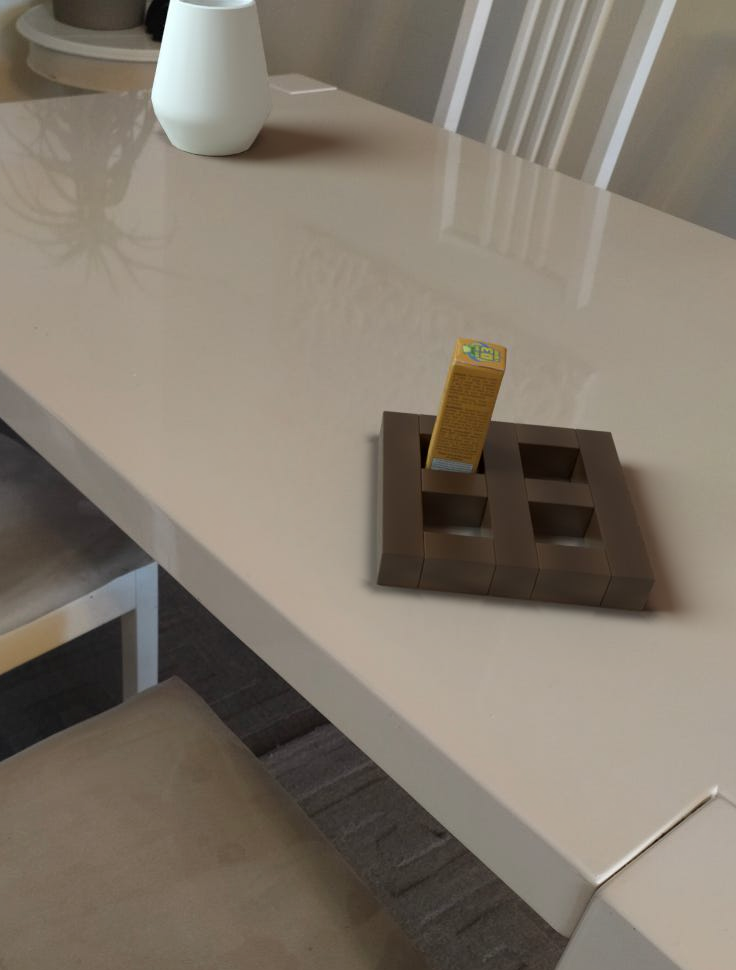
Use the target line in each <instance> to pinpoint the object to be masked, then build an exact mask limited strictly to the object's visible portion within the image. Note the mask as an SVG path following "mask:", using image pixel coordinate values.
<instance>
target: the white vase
mask: <svg viewBox="0 0 736 970" xmlns="http://www.w3.org/2000/svg"><path fill="white" fill-rule="evenodd" d="M261 31H262V30H261V25H260V20H259V14H258V8H257V2H256V0H169V4H168V9H167V15H166V19H165V25H164V30H163V35H162V39H161V44H160V49H159V54H158V60H157V63H156V70H155V74H154V79H153V84H152V88H151V96H150V97H151V103H152V108H153V112H154V114H155V116H156V118H157V119H158V122H159V123H160V125H161V127H162V129H163V131H164V132H165V134H166V136H167V138H168V140H169V141H170V143H171V145H172V146H174V147H175V148H177V149H178V150H180V151H183V152H187V153H190V154H193V155H194V154H195V155H200V156H208V157H209V156H210V157H212V156H213V157H214V156H221V157H222V156H223V157H224V156H230V155H236V154H237V155H238V154H240V153H243V152H245V151H247V150H249V149H250V148H251V147H252V145H253V143H254V142H255V140H256V139H257V137H258V135H259V133H260V132H261V130H262V128H263V127H264V126H265V123H266V122H267V121H268V119H269V117H270V115H271V113H272V109H273V97H272V90H271V85H270V79H269V72H268V67H267V61H266V55H265V49H264V44H263V38H262V37H263V36H262V32H261Z"/></svg>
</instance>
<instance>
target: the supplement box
mask: <svg viewBox="0 0 736 970" xmlns="http://www.w3.org/2000/svg"><path fill="white" fill-rule="evenodd" d="M507 352H508V348H506V347H505V346H504V345H500V344H496V343H492V342H487V341H482V340H478V339H472V338H465V337H457V341H456V343H455V345H454V348H453V352H452V356H451V361H450V364H449V368H448V371H447V375H446V379H445V383H444V388H443V391H442V395H441V398H440V402H439V406H438V410H437V414H436V416H437V418H436V422H435V425H434V429H433V433H432V437H431V441H430V445H429V449H428V454H427V458H426V462H425V464H424V465H423V469H433V470H444V471H454V472H464V473H475V474H476V470H477V467H478V463H479V460H480V456H481V453H482V449H483V446H484V442H485V439H486V435H487V431H488V428H489V425H490V421H492V417H493V413H494V410H495V406H496V403H497V399H498V396H499V392H500V389H501V386H502V382H503V379H504V376H505V373H506V368H507Z"/></svg>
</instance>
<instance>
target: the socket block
mask: <svg viewBox="0 0 736 970" xmlns="http://www.w3.org/2000/svg"><path fill="white" fill-rule="evenodd" d="M436 418H437V415H434V414H424V413H413V412H411V413H410V412H401V411H390V410H383V411H382V417H381V422H380V429H379V435H378V443H377V445H378V446H377V456H378V457H377V503H376V504H377V508H376V509H377V510H376V512H377V513H376V516H377V517H376V572H375V573H376V575H375V576H376V578H375V584H376V585H377V586H384V587H385V586H387V587H395V588H404V589H413V590H414V589H418V590H424V591H433V592H435V591H436V592H443V593H454V594H463V595H472V596H473V595H474V596H484V597H486V596H487V597H494V598H503V599H504V598H505V599H512V600H513V599H514V600H524V601H533V602H544V603H555V604H564V605H575V606H582V607H592V608H603V609H612V610H613V609H614V610H622V611H624V610H625V611H631V612H632V611H633V612H642V611H643V609H644V608H645V604H646V603H647V600H648V598H649V595H650V594H651V591H652V589H653V587H654V585H655V582H656V578H655V574H654V572H653V571H654V570H653V568H652V565H651V561H650V558H649V555H648V551H647V548H646V545H645V541H644V537H643V535H642V532H641V527H640V524H639V521H638V517H637V514H636V511H635V508H634V505H633V504H634V503H633V501H632V497H631V495H630V491H629V488H628V484H627V481H626V478H625V475H624V471H623V467H622V464H621V460H620V458H619V454H618V450H617V447H616V444H615V441H614V437H613V434H612V432H611V431H605V430H604V431H603V430H593V429H585V428H584V429H583V428H573V427H562V426H561V427H560V426H552V425H540V424H531V423H520V422H510V421H499V420H491V421H490V425H489V428H488V431H487V435H486V439H485V442H484V446H483V449H482V453H481V456H480V460H479V463H478V467H477V470H476V474H475V473H464V472H454V471H444V470H433V469H424V467H423V468H422V465H425V462H426V458H427V454H428V449H429V445H430V441H431V437H432V433H433V429H434V425H435V422H436ZM524 475H531V476H540V477H553V478H561V479H562V478H563V479H564V478H565V479H569V480H570V482H567V481H557V480H547V479H537V478H526V477H524ZM424 523H428V524H438V525H446V526H447V525H448V526H459V527H469V528H477V529H478V528H479V530H480V536H475V535H465V534H453V533H445V532H435V531H424ZM535 534H540V535H548V536H549V535H550V536H560V537H570V538H578V539H579V538H581V539H583V541H584V545H585V546H574V545H564V544H554V543H544V542H536V540H535Z"/></svg>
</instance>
